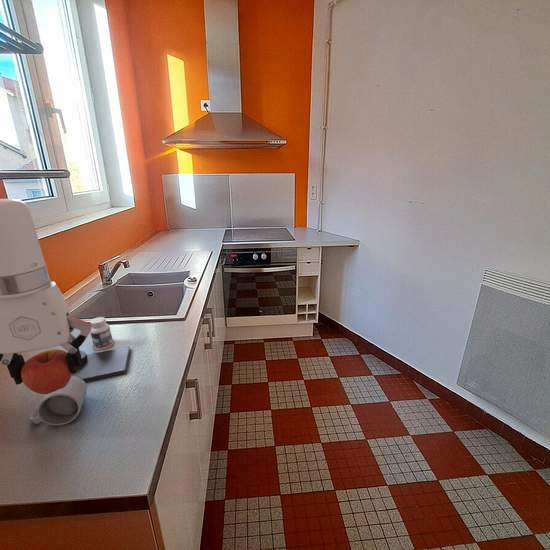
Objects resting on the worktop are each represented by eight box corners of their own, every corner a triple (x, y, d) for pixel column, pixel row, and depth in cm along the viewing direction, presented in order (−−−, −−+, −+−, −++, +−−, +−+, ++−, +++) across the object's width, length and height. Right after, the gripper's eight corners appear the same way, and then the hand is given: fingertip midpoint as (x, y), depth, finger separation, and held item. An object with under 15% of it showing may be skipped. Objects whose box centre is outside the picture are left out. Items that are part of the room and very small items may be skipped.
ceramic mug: (91, 394, 72) (83, 368, 70) (83, 420, 65) (74, 391, 63) (40, 407, 69) (29, 380, 67) (25, 435, 62) (13, 405, 59)
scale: (53, 390, 75) (49, 380, 74) (67, 362, 85) (64, 353, 84) (125, 374, 80) (123, 364, 79) (130, 350, 90) (128, 341, 89)
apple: (62, 371, 59) (50, 336, 56) (87, 381, 56) (77, 344, 53) (19, 396, 52) (4, 357, 50) (46, 408, 50) (31, 368, 47)
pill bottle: (91, 346, 93) (84, 321, 90) (107, 339, 97) (101, 314, 94) (99, 352, 90) (92, 325, 87) (116, 344, 94) (110, 318, 91)
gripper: (-69, 297, 41) (-24, 400, 47) (76, 281, 46) (100, 376, 52) (-36, 279, 48) (0, 371, 54) (87, 267, 53) (108, 352, 59)
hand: (49, 373), depth 53 cm, fingers closed on apple, 7 cm apart
